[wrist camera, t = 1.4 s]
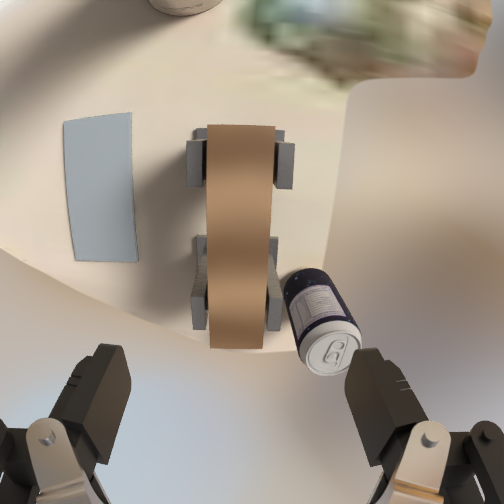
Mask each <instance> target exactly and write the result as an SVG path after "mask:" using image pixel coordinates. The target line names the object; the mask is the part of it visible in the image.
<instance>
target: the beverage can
mask: <svg viewBox="0 0 504 504" xmlns="http://www.w3.org/2000/svg"><path fill="white" fill-rule="evenodd" d="M283 294H284V300H285V303H286V307H287V311H288V315H289V319H290V323H291V327H292V330H293V334H294V338H295V342H296V346H297V350H298V354H299V357H300V359H301V361H302V362H303V363H304V364H305V365H306V366H307V367H308V369H309V370H310V371H312V372H313V373H315V374H317V375H321V376H332V375H336V374H339V373H342V372H344V371H346V370H347V369H349V366H350V363H351V359H352V356H353V353H354V351H355V350H356V349H362V345H361V332H360V330H359V328H358V326H357V324H356V322H355V321H354V319H353V317H352V316H351V313H350V312H349V310H348V308H347V306H346V305H345V303H344V301H343V299H342V298H341V296H340V294H339V292H338V291H337V289H336V287H335V285H334V284H333V282H332V280H331V279H330V277H329V276H328V275H327V274H326V273H325V272H324V271H322V270H319V269H315V268H308V269H303V270H300V271H298V272H296V273H295V274H293V275H292V276H291V277H290V278H289V279H288V281H287V282H286V284H285V287H284V293H283Z"/></svg>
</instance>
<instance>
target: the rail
mask: <svg viewBox="0 0 504 504" xmlns="http://www.w3.org/2000/svg"><path fill="white" fill-rule="evenodd" d="M274 145H275V126H256V125H207V180H206V217H207V276H208V307H209V331H210V348H224V349H262V347H263V333H264V319H265V304H266V289H267V273H268V257H269V241H270V223H271V205H272V186H273V166H274Z"/></svg>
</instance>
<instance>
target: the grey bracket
mask: <svg viewBox="0 0 504 504" xmlns="http://www.w3.org/2000/svg"><path fill="white" fill-rule="evenodd" d="M277 251H278V237H270V241H269V257H268V273H267V289H266V304H265V318H266V325H267V331H280V326H281V316H282V306H283V295H282V291H281V287H280V283H279V280H278V276H277V272H276V265H277ZM197 264H198V271H197V275H196V279H195V282H194V286H193V290H192V293H191V310H192V323H193V330H206V325H207V318H208V311H209V307H208V276H207V235H197Z"/></svg>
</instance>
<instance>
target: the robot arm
mask: <svg viewBox="0 0 504 504" xmlns="http://www.w3.org/2000/svg"><path fill="white" fill-rule="evenodd" d="M148 1H149V2H150V3H151V4H152V6H153V7H154V8H156V9H157V10H159V11H161V12H163V13H166V14H170V15H175V16H186V15H193V14H197V13H200V12H204V11H206V10H208V9H210V8H212V7H214V6H215V5H217V4H218V3H220V2H221V1H222V0H148ZM130 392H131V377H130V373H129V369H128V366H127V362H126V358H125V355H124V351H123V348H122V346H119V345H110V344H100V345H99V346H98V348H97V349H96V351H95V353H94V355H93V357H92V356H86V357H85V358H84V359H83V360H81V361H80V362H79V363H78V364H77V365H76V367H75V369H74V370H73V372H72V374H71V377H70V378H69V380H68V381H67V385H66V386H65V387H64V389H63V390H62V392H61V394H60V396H59V398H58V400H57V402H56V404H55V406H54V408H53V409H52V411H51V413H50V415H49V417H48V418H42V419H39V420H37V421H35V422H34V423H32V424H31V426H30V427H29V428H28V429H21V428H7V427H6V425H5V424H4V423H3V421H2V420H1V419H0V477H1V474H2V472H4V474H3V477H2V480H1V483H0V504H36V503H37V504H111V502H110V501H109V499H108V497H107V495H106V493H105V491H104V489H103V487H102V485H101V483H100V481H99V479H98V478H97V475H96V473H95V471H94V469H95V466H96V463H101V464H105V465H108V462H109V458H110V455H111V451H112V448H113V445H114V442H115V438H116V435H117V432H118V429H119V425H120V422H121V419H122V416H123V413H124V410H125V407H126V404H127V401H128V398H129V395H130ZM345 395H346V398H347V401H348V404H349V407H350V409H351V412H352V415H353V418H354V421H355V424H356V426H357V429H358V432H359V435H360V438H361V441H362V443H363V447H364V450H365V453H366V455H367V459H368V462H369V465H370V467H373V466H377V465H382V467H383V470H384V471H383V472H382V473H381V476H380V478H379V480H378V482H377V484H376V486H375V488H374V490H373V492H372V495H371V496H370V498H369V500H368V502H367V504H504V434H503V432H502V430H501V429H500V428H499V427H498V426H497V425H496V424H495V423H493V422H490V421H480V422H478V423H477V424H475V425H474V426H473V428H472V429H471V430H470V432H448V430H447V429H446V428H445V427H444V426H443V425H441V424H440V423H438V422H434V421H429V419H428V418H427V416H426V414H425V412H424V411H423V409H422V407H421V405H420V403H419V401H418V400H417V398H416V396H415V394H414V392H413V391H412V390H411V389H410V385H409V384H408V382H407V381H406V379H405V377H404V375H403V374H402V372H401V370H400V368H398V367H397V366H396V365H395V364H394V363H392V362H391V361H390V360H386V361H384V359H383V357H382V356H381V354H380V352H379V350H378V349H377V348H365V349H356V350H355V351H354V353H353V356H352V359H351V363H350V366H349V369H348V373H347V376H346V379H345ZM475 474H476V476H477V478H478V481H479V483H480V486H481V488H482V490H483V493H484V496H485V502H484V501H483V498H482V496H481V493H480V491H479V488H478V486H477V484H476V481H475V479H474V477H473V476H474V475H475ZM39 492H40V494H39Z"/></svg>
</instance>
